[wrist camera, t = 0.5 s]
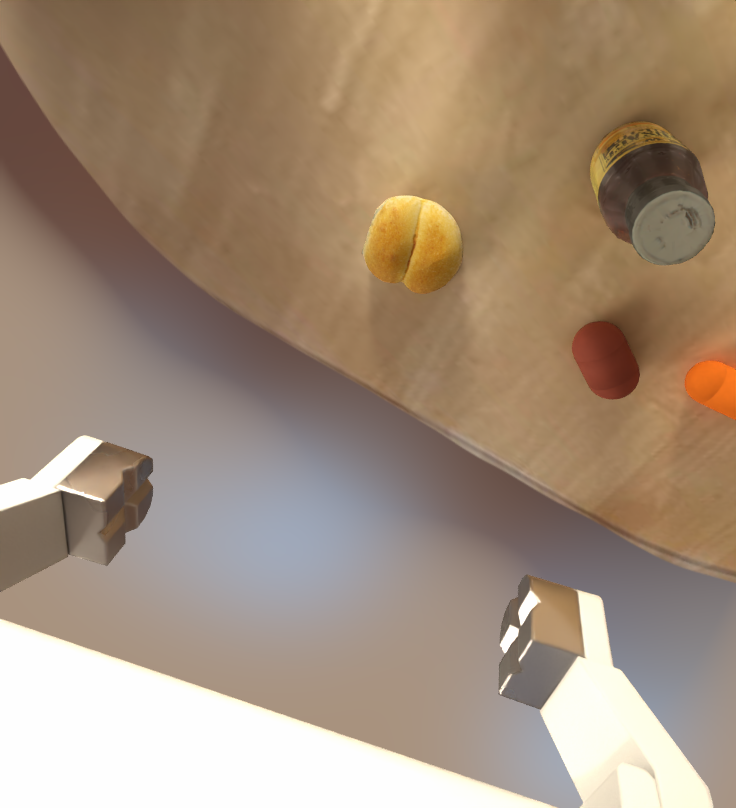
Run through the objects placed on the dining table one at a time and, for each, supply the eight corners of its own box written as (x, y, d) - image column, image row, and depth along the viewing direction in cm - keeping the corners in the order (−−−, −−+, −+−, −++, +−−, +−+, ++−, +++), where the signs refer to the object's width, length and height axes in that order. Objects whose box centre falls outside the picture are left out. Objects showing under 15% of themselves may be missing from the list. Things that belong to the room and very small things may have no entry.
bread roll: (446, 297, 56) (441, 314, 53) (359, 265, 57) (349, 279, 53) (479, 215, 52) (477, 227, 48) (384, 180, 52) (375, 190, 49)
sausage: (562, 326, 55) (565, 347, 52) (611, 305, 53) (618, 325, 50) (594, 391, 58) (600, 415, 54) (642, 372, 56) (651, 397, 52)
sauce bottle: (676, 113, 45) (768, 157, 28) (666, 198, 48) (743, 281, 32) (585, 124, 46) (622, 171, 30) (581, 205, 50) (612, 288, 33)
